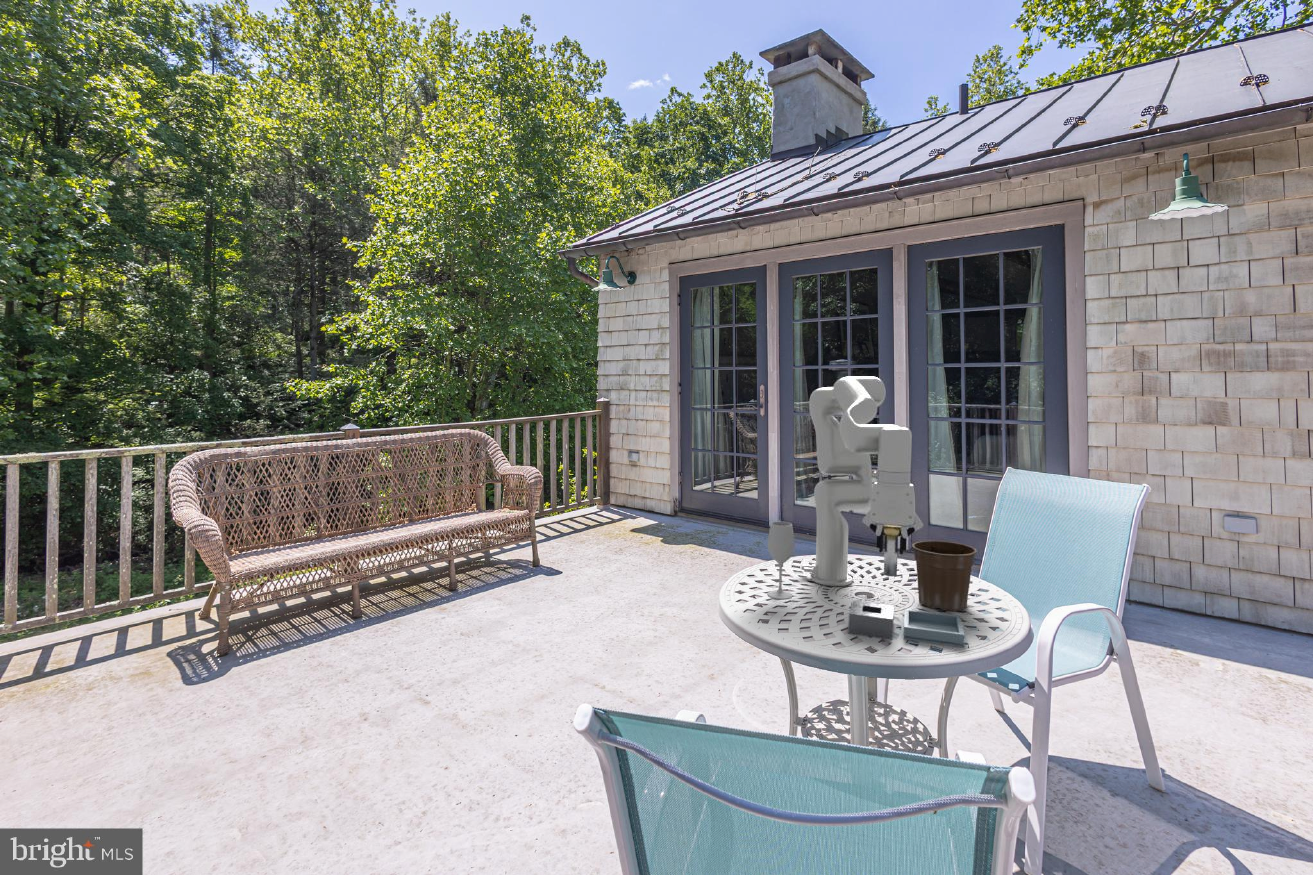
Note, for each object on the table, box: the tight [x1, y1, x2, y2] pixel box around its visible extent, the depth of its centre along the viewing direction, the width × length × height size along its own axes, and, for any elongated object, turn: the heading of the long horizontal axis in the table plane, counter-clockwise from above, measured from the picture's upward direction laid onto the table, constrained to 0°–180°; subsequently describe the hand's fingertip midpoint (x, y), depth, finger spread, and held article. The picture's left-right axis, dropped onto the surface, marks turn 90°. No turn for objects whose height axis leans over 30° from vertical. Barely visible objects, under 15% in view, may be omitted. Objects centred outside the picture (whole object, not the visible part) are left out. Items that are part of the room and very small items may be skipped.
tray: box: [903, 608, 965, 648], centre depth 153 cm, size 13×13×3 cm
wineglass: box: [767, 520, 796, 600], centre depth 180 cm, size 8×8×21 cm
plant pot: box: [911, 540, 978, 612], centre depth 173 cm, size 16×16×16 cm
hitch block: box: [848, 600, 895, 641], centre depth 155 cm, size 10×10×5 cm
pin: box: [882, 525, 902, 577], centre depth 153 cm, size 4×4×12 cm
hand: (891, 551), depth 153 cm, fingers closed on pin, 4 cm apart
